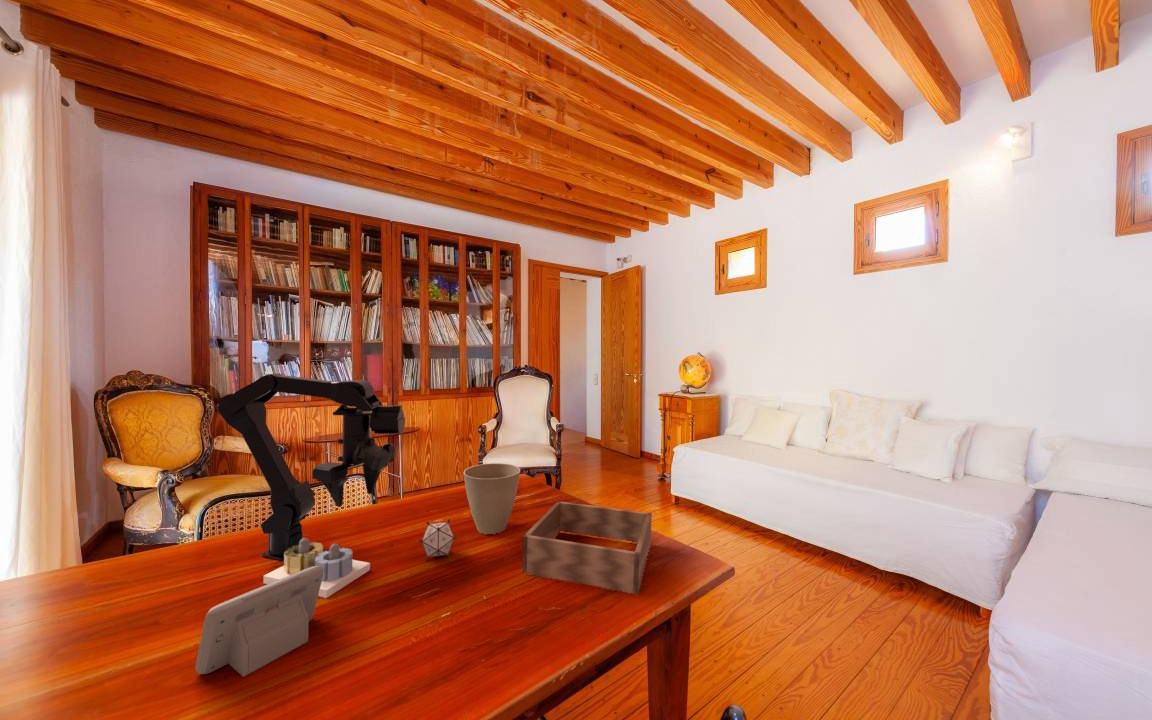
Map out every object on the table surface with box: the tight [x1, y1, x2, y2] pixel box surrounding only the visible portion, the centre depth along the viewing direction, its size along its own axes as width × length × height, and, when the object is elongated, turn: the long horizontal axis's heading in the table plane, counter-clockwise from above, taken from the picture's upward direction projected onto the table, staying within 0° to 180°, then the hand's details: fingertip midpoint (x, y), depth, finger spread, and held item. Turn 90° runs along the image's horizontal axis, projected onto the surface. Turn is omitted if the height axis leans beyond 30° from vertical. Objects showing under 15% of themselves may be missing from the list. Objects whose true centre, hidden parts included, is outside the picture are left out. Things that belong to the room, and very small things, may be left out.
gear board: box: [262, 537, 371, 599], centre depth 87 cm, size 16×11×7 cm
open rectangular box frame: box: [522, 500, 653, 595], centre depth 98 cm, size 25×23×10 cm
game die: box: [418, 518, 458, 561], centre depth 97 cm, size 9×8×10 cm
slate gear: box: [315, 547, 353, 582], centre depth 86 cm, size 7×7×4 cm
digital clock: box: [194, 566, 324, 677], centre depth 66 cm, size 16×9×11 cm, turn 138°
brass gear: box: [283, 541, 324, 574], centre depth 88 cm, size 7×7×4 cm
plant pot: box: [463, 462, 521, 535], centre depth 112 cm, size 15×15×16 cm
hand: (355, 499), depth 98 cm, fingers open, 9 cm apart
